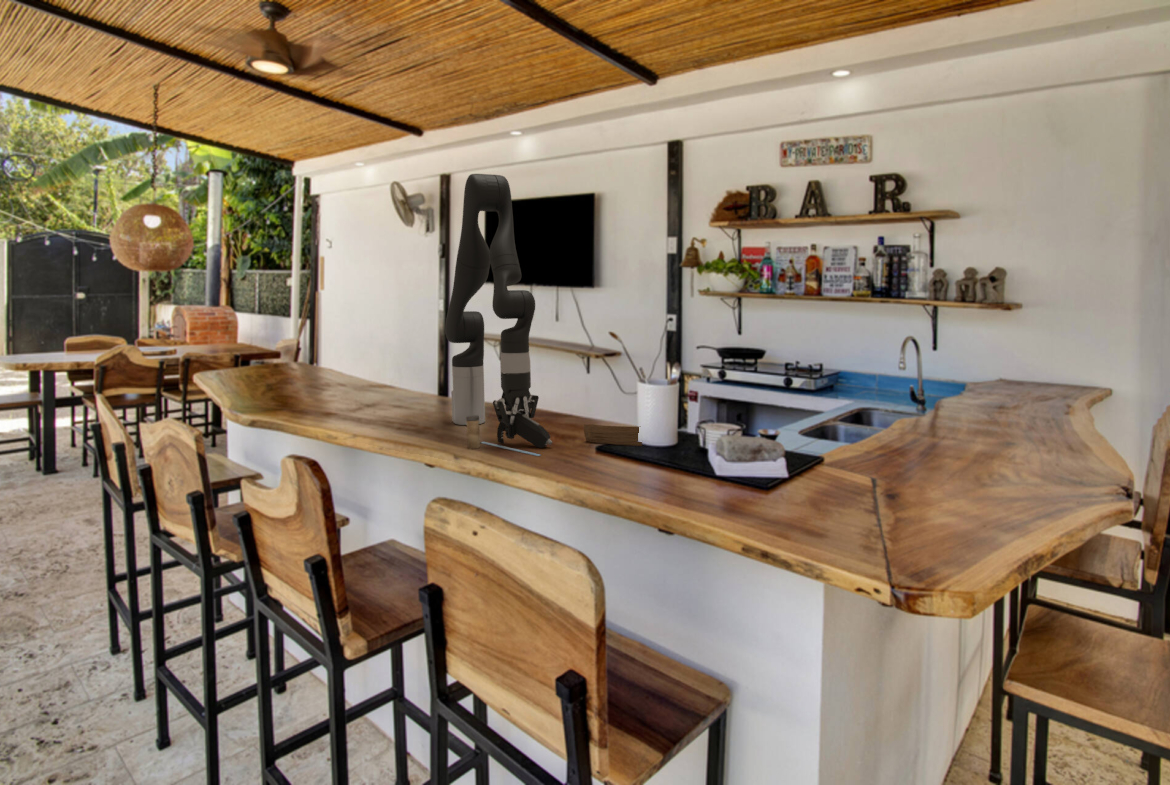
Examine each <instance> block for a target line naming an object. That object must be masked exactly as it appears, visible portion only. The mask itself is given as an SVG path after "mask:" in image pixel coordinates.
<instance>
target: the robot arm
mask: <svg viewBox="0 0 1170 785" xmlns="http://www.w3.org/2000/svg"><path fill="white" fill-rule="evenodd" d="M511 192H512V191H511V187H510V183H509V181H508V179H507V178H506V177H505V176H503V175H500V174H491V173H490V174H486V173H471V174H469V175H468V177H467V178H466V182H465V185H464V193H463V205H462V206H463V207H462V219H461V220H462V221H461V231H460V236H459V244H458V249H457V254H456V260H455V267H454V268H455V269H454V279H453V286H452V292H451V297H450V301H449V306H448V309H447V314H446V318H445V327H444V333H445V336H446V340H447V341H448V342H449V343H452V344H467V343H469V346H468V347H467V348H466V349H465V350H463V351H462V352H460V353H458V354H455V355H454V356H453V357H452V358H451V369H452V370H451V372H452V374H451V375H452V391H451V417H452V418H451V420H452V422H453V424H455V425H459V426H467V420H466V416H470V415H477V416H479V425H480V424H483V423H486V414H485V413H486V411H485V410H486V405H485V404H486V403H485V400H486V399H485V374H484V373H485V372H484V371H485V370H484V358H485V357H484V356H485V321H484V317H483V314H482V313H481V312H479V311H473V310H471V311H465V309H466V307H467V305H468V303H469V302H470V300H471V299H473V297H474V295H476V294H477V293H478V292H479V291H480V290H481V288H482V287H483V286H484V285H485V283H486V281H487V280H488V277H489V273H490V268H491V271H492V276H493V292H492V294H493V295H492V310H493V313H494V314H495V315H496V317H497V318H499V319H501V320H510V319H511V320H514V319H517V320H516V321H515V324H514V325H513V326H512V327H509V328H505V329H502V331H501V332H500V363H499V364H500V388H501V390H502V394H501V397H500V398H499V399H497V400H496V399H495V400H493V401H492V405H493V409H494V411H495V414H496V417H497V421H498V422H499V423H500V422H503V423H505V430H506V432H505V436H506V438H507V439H509V440H513V439H515V435H514V424H513V423H514V417H515V415H516V413H521V414H523V415H526V416H527V417H529V418H530V419H533V418H535V415H536V411H537V406H538V401H539V395H535V394H531V392H530V388H531V387H532V380H531V356H530V339H529V338H530V332H531V327H532V323H533V318H534V315H535V311H536V299H535V297H534V295H533V294H532V292H530V291H529V290H526V289H515V290H511V289H510V290H509V289H508V287H511V286H513V285H516V284H518V283H519V282H520V281H521V279H522V270H521V267H520V266H521V265H520V261H519V257H518V253H517V252H518V251H517V249H516V243H515V231H514V230H515V228H514V214H513V203H512V202H513V201H512V193H511ZM480 212H496V213H497V215H498V224H497V225H498V226H497V228H496V231H495V234H494V235H493V238H492V240H491V244H490V247H489V246H488V243H487V241H486V240H485V238H484V235H483V234H482V232H481V228H480V226H479V214H480ZM509 410H512V411H511V412H510V411H509ZM509 415H510V418H509Z"/></svg>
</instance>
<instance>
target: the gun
mask: <svg viewBox="0 0 1170 785" xmlns="http://www.w3.org/2000/svg"><path fill="white" fill-rule="evenodd" d="M509 411H510V412H511V411H512V410H509ZM509 418H510V415H509ZM513 424H514V436H519V437H521V439H524V440H525V441H527V442H528V443H530V444H531V445H533V446H534V447H536V448H537V449H538V448H539V449H541V448H542V449H543V448H545V447H547V446H548V445H549V446H550V445H552V444H553V441H552V440H551V435H550V432H549V431H547V430H546V428H544V426H542V425H541V424H540V423H539V422H537V421H536V420H533V418H531V419H530V418H529V417H527V416H526V415H523V414H521V413H518V412H517V413H516V415H515V417H514V423H513ZM496 429H497V432H496V433H497V434H496V438H497V442H499V443H500V444H504V443H505V440H504V434H505V433H506V430H505V423H503V422H499V424H498V427H497V428H496Z"/></svg>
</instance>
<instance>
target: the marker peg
mask: <svg viewBox="0 0 1170 785" xmlns="http://www.w3.org/2000/svg"><path fill="white" fill-rule="evenodd" d="M466 420H467V425H466V437H467V438H466V440H467V441H466V442H467V443H466V444H467V446H466V447H467V449H468V450H476V449H479V448H480V444H481V443H480V424H479V416H477V415H470V416H466Z"/></svg>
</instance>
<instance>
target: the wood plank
mask: <svg viewBox="0 0 1170 785" xmlns="http://www.w3.org/2000/svg"><path fill="white" fill-rule="evenodd" d="M639 427H640V426H624V425H623V426H621V425H620V426H619V425H617V426H616V425H602V424H600V425H599V424H593V423H592V424H591V423H590V424H588V423H587V424H585V423H584V424H583V434H584V437H585V442H592V443H597V444H605V445H606V444H607V445H614V446H617V445H618V446H619V445H620V446H630V447H631V446H635V447H642V446H643V441H642V442H637V441H638V433H639Z"/></svg>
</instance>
